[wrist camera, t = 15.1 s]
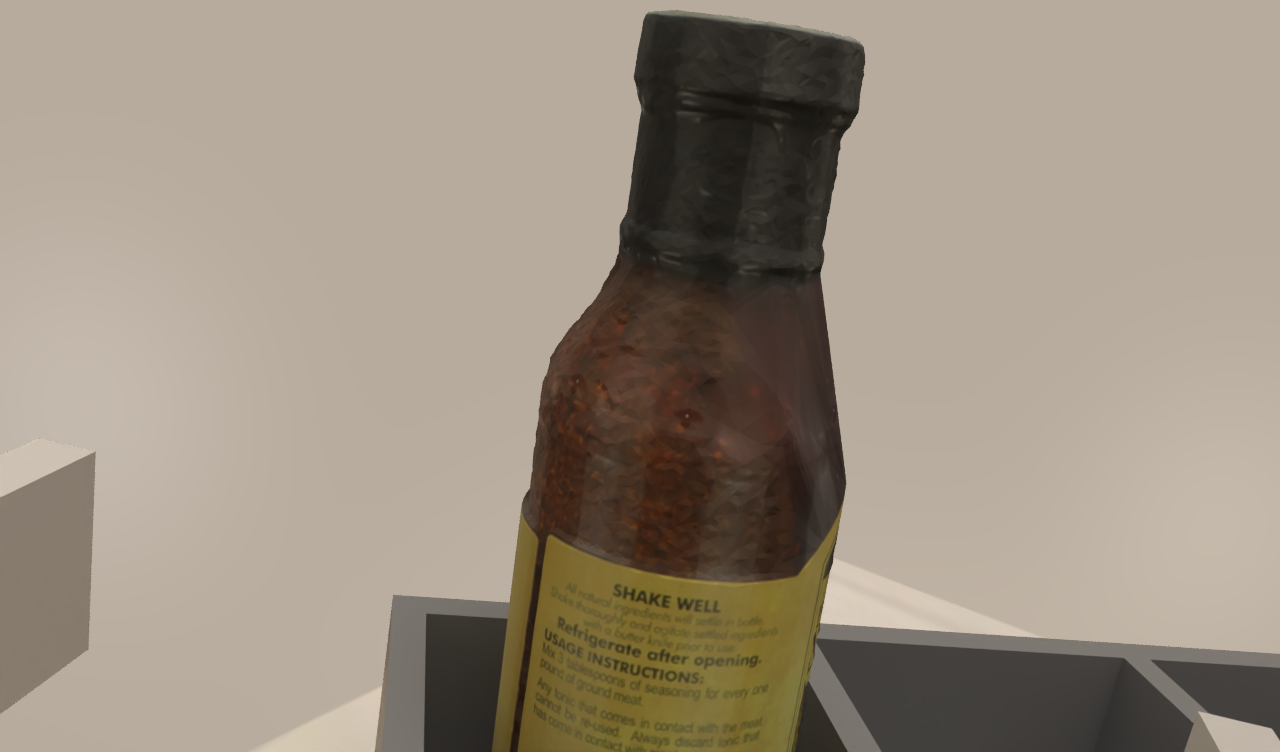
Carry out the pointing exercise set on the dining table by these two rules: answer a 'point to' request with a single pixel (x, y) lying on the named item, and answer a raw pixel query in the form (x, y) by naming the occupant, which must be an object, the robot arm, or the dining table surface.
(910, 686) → the caddy
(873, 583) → the dining table surface
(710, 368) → the sauce bottle
